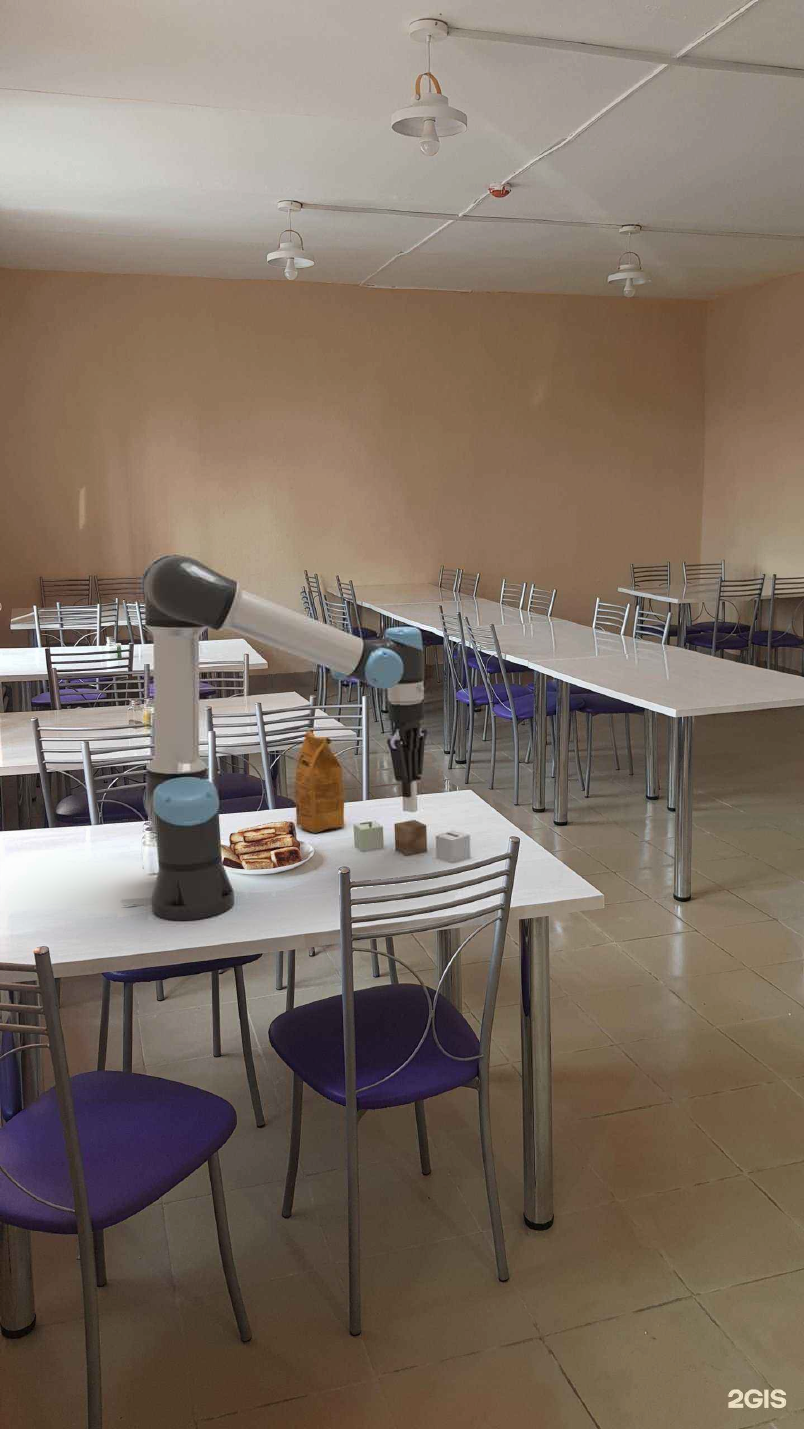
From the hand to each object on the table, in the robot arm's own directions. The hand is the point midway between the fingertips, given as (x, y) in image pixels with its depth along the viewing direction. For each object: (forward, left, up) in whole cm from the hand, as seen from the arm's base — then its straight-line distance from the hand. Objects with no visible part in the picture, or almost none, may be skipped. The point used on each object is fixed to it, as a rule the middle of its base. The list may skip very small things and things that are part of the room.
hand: (410, 810), depth 225 cm
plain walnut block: (0, 0, -9) cm, 9 cm away
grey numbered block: (+5, -9, -9) cm, 14 cm away
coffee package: (-8, +29, -9) cm, 31 cm away
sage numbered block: (-6, +8, -9) cm, 14 cm away
